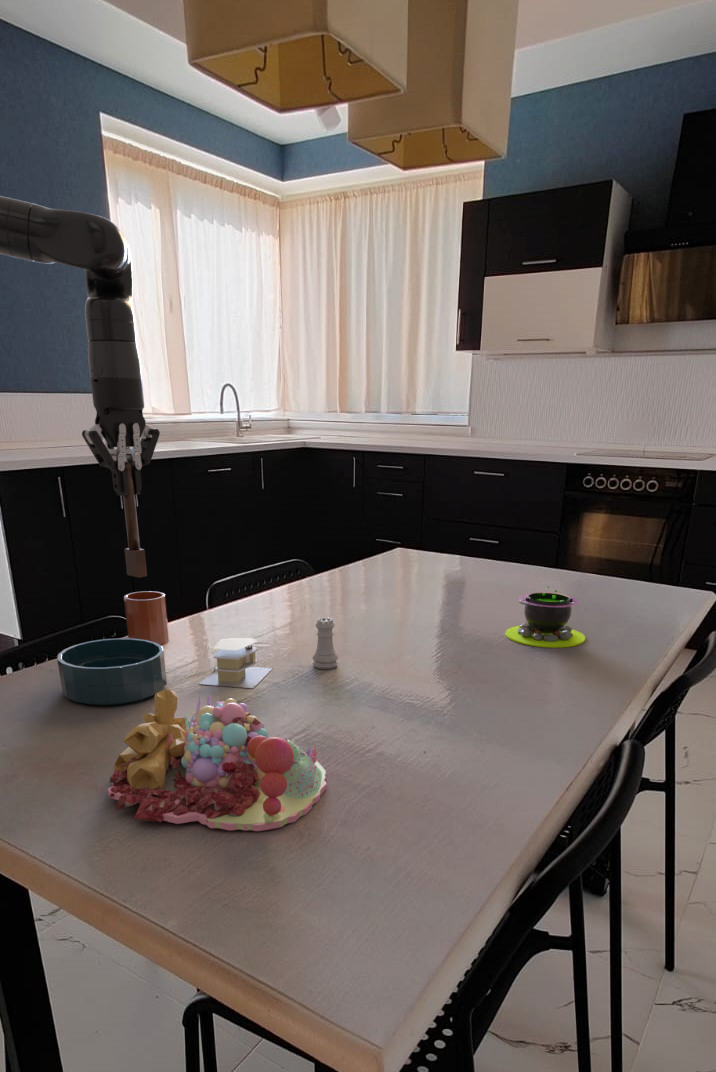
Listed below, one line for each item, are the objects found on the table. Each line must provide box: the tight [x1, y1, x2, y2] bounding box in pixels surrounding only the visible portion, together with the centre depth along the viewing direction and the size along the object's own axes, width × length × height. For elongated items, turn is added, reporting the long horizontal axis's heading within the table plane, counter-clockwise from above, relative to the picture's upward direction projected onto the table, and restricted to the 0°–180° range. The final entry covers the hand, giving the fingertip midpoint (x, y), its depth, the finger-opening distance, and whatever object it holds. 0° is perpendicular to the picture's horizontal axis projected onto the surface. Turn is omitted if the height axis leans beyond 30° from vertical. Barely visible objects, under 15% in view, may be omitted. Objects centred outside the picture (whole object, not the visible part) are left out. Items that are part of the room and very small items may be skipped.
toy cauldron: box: [505, 576, 586, 649], centre depth 145 cm, size 15×15×11 cm
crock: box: [123, 590, 170, 646], centre depth 138 cm, size 7×7×9 cm
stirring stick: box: [122, 461, 148, 579], centre depth 125 cm, size 3×2×18 cm, turn 53°
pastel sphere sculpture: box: [107, 688, 327, 832], centre depth 88 cm, size 25×24×9 cm
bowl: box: [56, 637, 168, 706], centre depth 117 cm, size 15×15×6 cm
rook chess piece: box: [311, 617, 339, 670], centre depth 128 cm, size 4×4×8 cm
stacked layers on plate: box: [198, 637, 273, 689], centre depth 123 cm, size 10×9×6 cm
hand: (128, 494), depth 123 cm, fingers closed on stirring stick, 2 cm apart
